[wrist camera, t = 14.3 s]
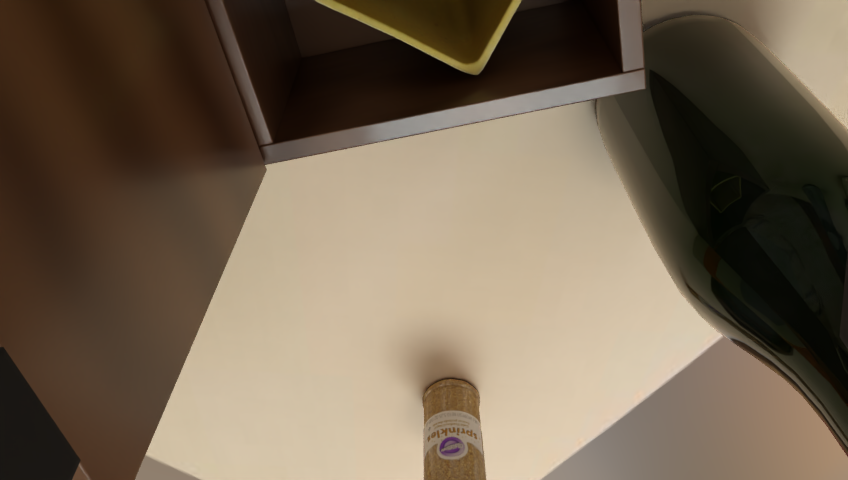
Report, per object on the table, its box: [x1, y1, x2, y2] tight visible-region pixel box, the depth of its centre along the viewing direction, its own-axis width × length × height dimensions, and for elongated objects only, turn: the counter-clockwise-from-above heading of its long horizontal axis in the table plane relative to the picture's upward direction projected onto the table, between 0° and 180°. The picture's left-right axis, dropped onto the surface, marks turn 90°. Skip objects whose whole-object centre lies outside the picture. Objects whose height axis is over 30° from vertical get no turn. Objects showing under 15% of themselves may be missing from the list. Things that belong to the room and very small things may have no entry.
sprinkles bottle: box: [423, 379, 486, 480], centre depth 56 cm, size 5×5×13 cm
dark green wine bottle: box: [596, 15, 848, 456], centre depth 34 cm, size 10×10×33 cm
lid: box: [0, 0, 267, 480], centre depth 25 cm, size 19×15×7 cm
